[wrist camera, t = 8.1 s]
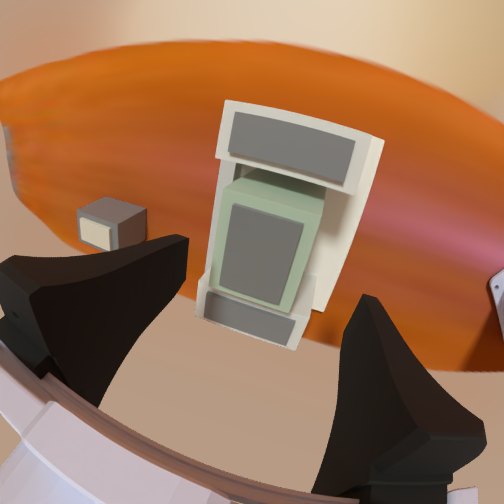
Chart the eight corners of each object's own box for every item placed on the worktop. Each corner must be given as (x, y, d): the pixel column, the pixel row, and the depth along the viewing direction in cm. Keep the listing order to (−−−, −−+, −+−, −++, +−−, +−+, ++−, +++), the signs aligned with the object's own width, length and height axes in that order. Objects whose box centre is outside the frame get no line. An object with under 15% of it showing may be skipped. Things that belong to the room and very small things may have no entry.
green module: (326, 184, 17) (321, 218, 12) (304, 258, 20) (287, 317, 14) (260, 166, 18) (220, 189, 12) (244, 239, 21) (206, 289, 15)
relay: (147, 208, 23) (115, 225, 19) (146, 238, 25) (116, 259, 21) (106, 196, 24) (74, 211, 20) (107, 224, 25) (77, 242, 22)
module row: (382, 139, 16) (404, 147, 10) (323, 306, 22) (316, 360, 17) (236, 102, 17) (194, 95, 12) (208, 268, 24) (173, 310, 19)
